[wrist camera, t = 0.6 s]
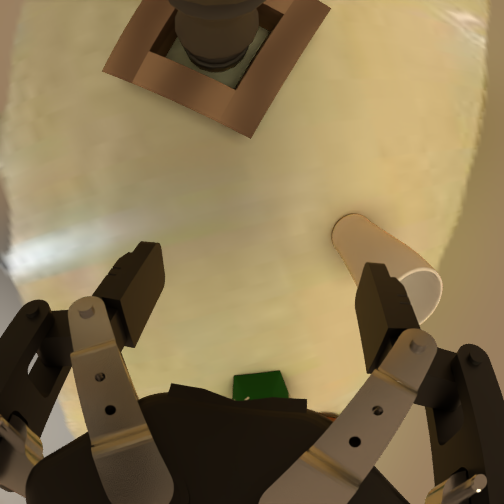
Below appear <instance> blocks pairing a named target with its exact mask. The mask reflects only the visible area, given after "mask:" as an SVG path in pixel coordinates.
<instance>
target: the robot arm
mask: <svg viewBox="0 0 504 504" xmlns="http://www.w3.org/2000/svg"><path fill="white" fill-rule="evenodd" d="M164 284H165V272H164V265H163V257H162V250H161V245H160V243H155V242H144V241H141V242H140V243H139V244H138V246H137V247H136V248H135V250H134V251H133V252H132V253H130V252H128V253H127V254H125V255H124V256H122V257H121V258H119V259H118V260H117V262H116V263H115V264H114V266H113V269H111V270H110V271H109V273H108V275H106V277H105V278H104V279H103V281H102V282H101V284H100V285H99V286H98V288H97V289H96V291H95V292H94V293H93V295H92V296H87V297H83V298H80V299H78V300H76V301H75V302H74V303H73V304H72V305H71V306H70V307H69V310H60V311H51V309H50V307H49V304H48V303H47V302H46V301H44V300H33V301H31V302H28V303H27V304H25V305H24V306H23V307H22V308H21V309H20V310H19V312H18V313H17V314H16V316H15V317H14V319H13V321H12V322H11V323H10V324H9V326H8V327H7V329H6V330H5V332H4V333H3V335H2V336H1V338H0V488H2V489H4V490H5V491H8V492H16V493H18V494H19V495H22V496H23V497H25V498H26V503H27V504H410V503H409V502H408V501H407V500H406V499H405V498H404V497H403V496H402V495H401V494H400V493H399V492H398V491H397V490H396V489H395V488H394V486H393V485H392V484H391V483H390V482H389V481H388V480H387V479H386V478H385V477H384V476H383V475H382V474H381V473H380V471H379V470H378V469H377V468H376V467H375V466H374V465H375V463H376V462H377V460H378V459H379V458H380V456H381V455H382V453H383V452H384V450H385V449H386V447H387V446H388V444H389V442H390V441H391V439H392V438H393V436H394V435H395V433H396V431H397V430H398V428H399V426H400V425H401V423H402V421H403V420H404V418H405V416H406V414H407V413H408V411H409V409H410V407H411V406H412V404H413V403H414V404H418V405H422V406H425V409H426V416H427V422H428V429H429V435H430V443H431V451H432V460H433V470H434V481H435V487H434V488H433V489H431V491H430V492H429V493H428V495H427V497H426V499H425V504H504V400H503V397H502V393H501V390H500V387H499V385H498V381H497V379H496V376H495V373H494V370H493V368H492V365H491V362H490V359H489V357H488V355H487V354H486V352H485V351H483V349H481V348H480V347H478V346H476V345H473V344H465V345H463V346H461V347H460V349H459V350H458V352H457V353H454V352H451V351H447V350H444V349H441V348H438V347H437V344H436V342H435V340H434V338H433V337H432V336H431V335H430V334H428V333H427V332H425V331H423V330H421V329H420V326H419V323H418V321H417V318H416V315H415V313H414V310H413V307H412V305H411V304H410V303H411V302H410V300H409V297H407V296H408V295H407V292H406V290H405V287H404V285H403V284H402V283H401V282H400V281H399V280H398V279H397V278H396V277H390V275H389V272H388V270H387V267H386V265H385V264H383V263H372V262H366V263H365V265H364V268H363V271H362V275H361V279H360V282H359V286H358V289H357V292H356V297H355V310H356V315H357V320H358V325H359V330H360V336H361V341H362V347H363V353H364V359H365V365H366V371H367V374H371V375H370V377H369V378H368V379H367V381H366V382H365V383H364V385H363V386H362V387H361V389H360V390H359V391H358V392H357V394H356V395H355V396H354V398H353V399H352V400H351V401H350V403H349V404H348V405H347V406H346V408H345V409H344V410H343V411H342V412H341V414H340V415H339V416H338V417H337V418H336V420H335V421H334V422H333V421H332V420H330V419H329V418H327V417H326V416H324V415H322V414H320V413H318V412H315V411H313V410H309V409H307V399H293V398H279V397H269V398H261V399H252V400H243V401H236V400H232V399H230V398H227V397H224V396H221V395H219V394H216V393H213V392H211V391H208V390H206V389H202V388H196V387H190V386H184V385H178V384H173V383H171V386H170V389H169V392H165V393H157V394H153V395H149V396H146V397H144V398H141V399H139V397H138V395H137V393H136V390H135V388H134V385H133V383H132V380H131V377H130V375H129V372H128V369H127V367H126V364H125V361H124V358H123V356H122V353H121V351H122V349H123V347H124V346H127V347H132V348H135V346H136V344H137V342H138V340H139V338H140V336H141V333H142V331H143V329H144V327H145V325H146V323H147V321H148V319H149V317H150V315H151V313H152V311H153V309H154V307H155V304H156V302H157V300H158V298H159V296H160V294H161V292H162V290H163V288H164ZM35 353H37V354H38V358H37V360H36V362H35V363H34V365H33V367H32V369H31V371H30V373H29V374H28V366H29V364H30V362H31V360H32V359H33V357H34V355H35ZM71 367H72V368H73V373H74V378H75V382H76V387H77V391H78V395H79V400H80V404H81V408H82V412H83V415H84V419H85V423H86V426H87V430H88V432H86V433H85V434H83V435H82V436H80V437H78V438H77V439H75V440H73V441H72V442H70V443H68V444H67V445H65V446H63V447H62V448H60V449H58V450H57V451H55V452H54V453H51V454H50V455H48V456H46V457H45V458H44V456H43V454H42V452H43V446H42V442H41V440H40V437H41V435H42V432H43V430H44V427H45V425H46V422H47V420H48V418H49V415H50V413H51V411H52V408H53V406H54V404H55V401H56V399H57V397H58V395H59V393H60V390H61V388H62V386H63V384H64V382H65V380H66V377H67V375H68V373H69V371H70V369H71Z"/></svg>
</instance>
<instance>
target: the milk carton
mask: <svg viewBox="0 0 504 504" xmlns="http://www.w3.org/2000/svg"><path fill="white" fill-rule="evenodd" d="M269 397H279V398H290V395H289V393H288V390H287V388H286V385H285V383H284V380H283V377H282V375H281V372H280V371H273V372H265V373H256V374H247V375H237V376H234V382H233V398H232V400H236V401H243V400H252V399H261V398H269Z"/></svg>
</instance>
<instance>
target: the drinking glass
mask: <svg viewBox="0 0 504 504" xmlns="http://www.w3.org/2000/svg"><path fill="white" fill-rule="evenodd" d="M332 242H333V245H334V247H335V249H336V250H337V252H338V253H339V254H340V256H341V258H342V259H343V261H344V263H345V265H346V267H347V269H348V270H349V272H350V274H351V276H352V278H353V280H354V282H355V284H356V286H357V288H358V286H359V282H360V279H361V275H362V271H363V268H364V265H365V263H366V262H372V263H383V264H385V265H386V267H387V270H388V272H389V275H390V277H396V278H397V279H398V280H399V281H400V282H401V283H402V284H403V285H404V287H405V290H406V292H407V295H408V296H407V297H409V300H410V302H411V303H410V304H411V305H412V307H413V310H414V313H415V315H416V318H417V321H418V323H419V325H420V324H422V323H423V322H424V321H425V320H426V319H427V318H428V317H429V316H430V315H431V314H432V313H433V311H434V310H435V309H436V307H437V305H438V303H439V301H440V298H441V295H442V289H443V285H442V280H441V277H440V275H439V274H438V272H436V271H435V269H434V268H433V267H432V266H431V265H430V264H429V263H428V262H427V261H426V260H425V259H424V258H423V257H421V256H420V255H419V254H418V253H417V252H415V251H414V250H413V249H412V248H410V247H409V246H407V245H406V244H404V243H403V242H401V241H400V240H398V239H397V238H395V237H394V236H392V235H390V234H389V233H387V232H386V231H384V230H383V229H381V228H380V227H378V226H377V225H375V224H373V223H372V222H371V221H370V220H368V219H367V218H366V217H364V216H362V215H359V214H351V215H347V216H345V217H343V218H342V219H341V220H339V221H338V223H337V224H336V225H335V227H334V229H333V233H332Z"/></svg>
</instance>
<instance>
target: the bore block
mask: <svg viewBox="0 0 504 504" xmlns="http://www.w3.org/2000/svg"><path fill="white" fill-rule="evenodd" d="M256 9H257V11H258V17H259V26H261V27H263V28H265V29H267V30H268V31H270V33H269V34H268V36H267V38H266V39H265V41H264V42H263V44H262V45H261V47H260V48H259V50H258V52H257V53H256V55H255V56H254V58H253V60H252V61H251V63H250V64H249V66H248V68H247V69H246V71H245V73H244V74H243V76H242V78H241V79H240V81H239V83H238V84H237V86H236V88H235V89H232V88H230V87H228V86H226V85H224V84H222V83H220V82H218V81H216V80H214V79H212V78H210V77H208V76H206V75H203V74H201V73H199V72H197V71H195V70H193V69H190V68H188V67H186V66H184V65H181V64H179V63H177V62H174V61H172V60H170V59H167V58H165V57H166V55H167V53H168V52H169V50H170V48H171V46H172V45H173V43H174V41H175V40H176V38H177V37H178V36H177V34H176V32H175V16H176V14H177V12H178V10H177V9H176V8H174V7H173V6H172V5H171V4H170V3H169V1H168V0H142V2H141V4H140V5H139V7H138V8H137V10H136V11H135V13H134V15H133V16H132V18H131V19H130V21H129V23H128V24H127V26H126V28H125V29H124V31H123V33H122V35H121V36H120V38H119V40H118V42H117V44H116V45H115V47H114V49H113V51H112V53H111V55H110V57H109V59H108V60H107V62H106V64H105V66H104V68H103V70H102V72H105V73H107V74H110V75H113V76H115V77H118V78H120V79H123V80H125V81H128V82H130V83H133V84H135V85H138V86H140V87H142V88H145V89H147V90H150V91H152V92H154V93H157V94H159V95H161V96H163V97H166V98H168V99H170V100H172V101H175V102H177V103H179V104H181V105H183V106H186V107H188V108H190V109H192V110H194V111H196V112H198V113H200V114H203V115H205V116H207V117H209V118H211V119H213V120H215V121H217V122H219V123H221V124H223V125H225V126H227V127H229V128H231V129H233V130H235V131H237V132H239V133H241V134H242V135H244V136H246V137H248V138H250V139H251V137H252V136H253V134H254V132H255V130H256V129H257V127H258V125H259V123H260V122H261V120H262V118H263V117H264V115H265V113H266V111H267V110H268V108H269V106H270V105H271V103H272V101H273V100H274V98H275V96H276V95H277V93H278V91H279V90H280V88H281V86H282V85H283V83H284V81H285V80H286V78H287V77H288V75H289V73H290V72H291V70H292V68H293V67H294V65H295V64H296V62H297V60H298V59H299V57H300V56H301V54H302V52H303V51H304V49H305V48H306V46H307V45H308V43H309V42H310V40H311V38H312V37H313V35H314V34H315V32H316V31H317V29H318V28H319V26H320V25H321V23H322V22H323V20H324V19H325V17H326V16H327V14H328V13H329V11H330V10H331V8H330V7H328V6H327V5H325V4H323V3H322V2H320V1H319V0H266V1H265V2H263V3H262V4H261V5H260V6H259V7H257V8H256Z"/></svg>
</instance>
